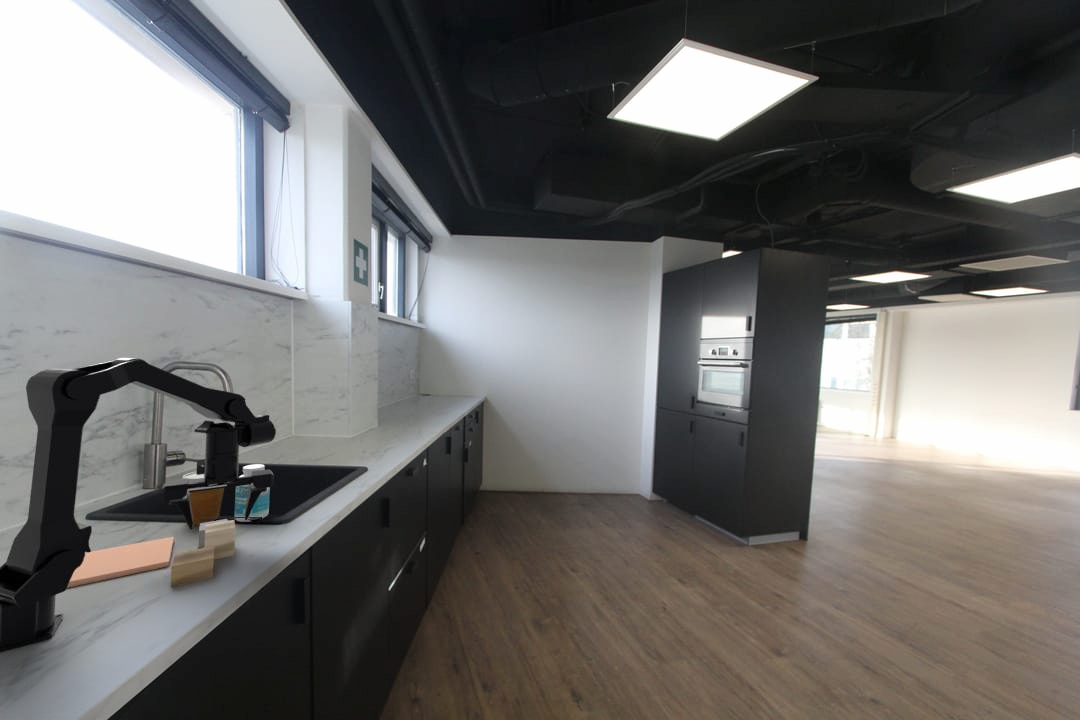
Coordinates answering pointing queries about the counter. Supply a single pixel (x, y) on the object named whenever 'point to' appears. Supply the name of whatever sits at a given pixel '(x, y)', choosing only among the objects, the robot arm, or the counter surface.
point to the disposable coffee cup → (204, 500)
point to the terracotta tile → (123, 561)
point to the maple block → (220, 538)
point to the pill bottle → (242, 494)
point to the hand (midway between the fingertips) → (219, 524)
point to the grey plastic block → (202, 531)
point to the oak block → (192, 566)
